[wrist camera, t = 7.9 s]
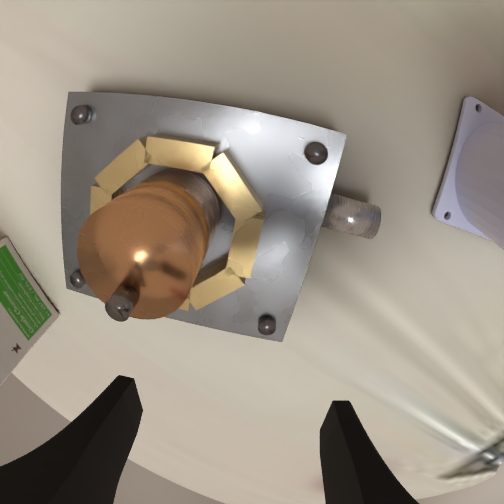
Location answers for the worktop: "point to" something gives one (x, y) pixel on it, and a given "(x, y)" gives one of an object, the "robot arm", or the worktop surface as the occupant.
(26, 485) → the robot arm
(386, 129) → the worktop surface
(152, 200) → the copper spout can
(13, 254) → the skincare box
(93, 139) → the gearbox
